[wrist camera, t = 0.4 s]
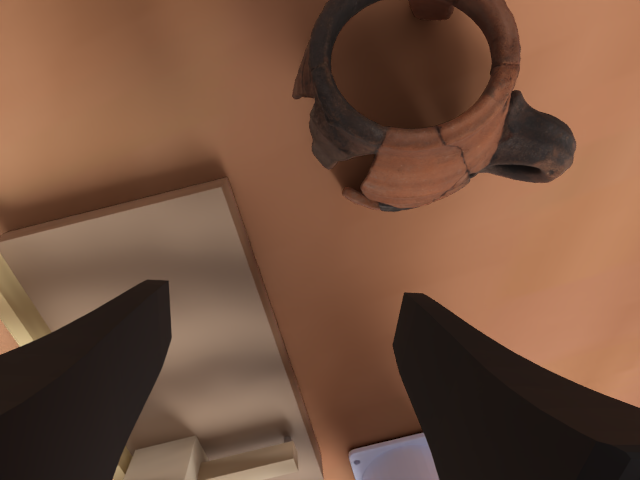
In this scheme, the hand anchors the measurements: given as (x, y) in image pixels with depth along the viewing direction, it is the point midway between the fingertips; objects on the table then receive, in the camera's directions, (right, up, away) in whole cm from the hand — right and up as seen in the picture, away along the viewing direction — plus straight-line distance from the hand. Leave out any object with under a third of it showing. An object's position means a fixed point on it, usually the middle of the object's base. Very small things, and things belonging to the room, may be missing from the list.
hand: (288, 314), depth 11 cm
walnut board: (-7, -6, +12) cm, 15 cm away
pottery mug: (+5, +9, +8) cm, 13 cm away
